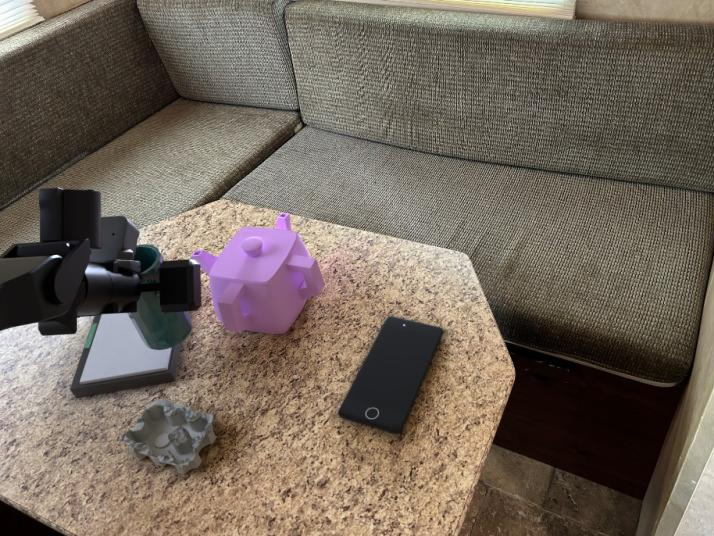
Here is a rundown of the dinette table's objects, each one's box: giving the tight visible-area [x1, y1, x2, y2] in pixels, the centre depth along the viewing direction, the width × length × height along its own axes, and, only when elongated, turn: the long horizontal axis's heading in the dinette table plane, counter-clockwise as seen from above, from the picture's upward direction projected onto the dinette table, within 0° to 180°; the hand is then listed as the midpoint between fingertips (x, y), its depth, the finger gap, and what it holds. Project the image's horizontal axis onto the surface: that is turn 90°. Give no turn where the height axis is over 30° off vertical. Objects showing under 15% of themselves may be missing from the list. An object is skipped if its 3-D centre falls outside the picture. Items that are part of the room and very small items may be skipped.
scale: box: [69, 313, 183, 398], centre depth 93 cm, size 14×20×3 cm
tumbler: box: [127, 243, 194, 350], centre depth 80 cm, size 7×7×13 cm
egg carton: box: [116, 398, 217, 475], centre depth 77 cm, size 11×8×4 cm
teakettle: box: [190, 212, 326, 335], centre depth 94 cm, size 17×17×12 cm
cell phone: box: [337, 315, 444, 435], centre depth 84 cm, size 9×18×1 cm, turn 159°
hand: (154, 290), depth 81 cm, fingers closed on tumbler, 7 cm apart
